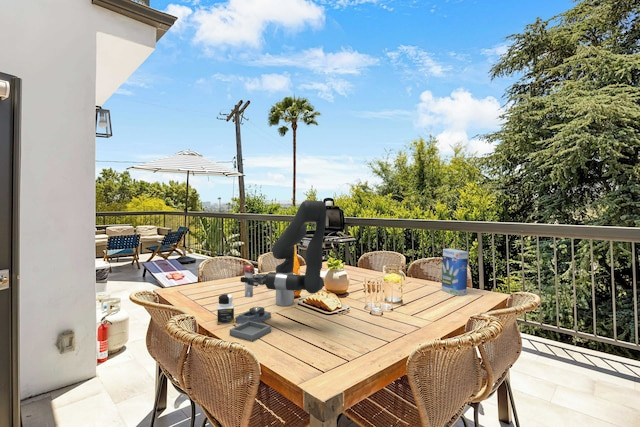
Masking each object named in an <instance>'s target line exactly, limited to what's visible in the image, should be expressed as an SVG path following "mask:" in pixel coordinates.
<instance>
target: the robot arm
mask: <svg viewBox="0 0 640 427" xmlns="http://www.w3.org/2000/svg"><path fill="white" fill-rule="evenodd" d="M326 221H327V206H326V203H325V202H324V201H322V200H303V201H302V202H301V204H299V206H298V209H297V211H296V213H295V215H294V217H293V219H292V220H291V222H290V223H289V225H288V226H287V227H286V229H285V231H284V232H283V234H282V235H281V236H280V237H279V238H278V239H277V240H276V241H275V242H274V244H273V246H272V250H271V251H272V257H274V258H275V259H276V260H284V261H283V262H282V263H280V264H278V265H276V267H275V272H273V271H269V272H268V273H263V274H262V273H258V274H257V273H256V274H253V278H250V277H249V278H248V277H245V276H241V277H240V283H244V284H245V283H248V285H252V286H253V287H255V288H256V287H259V286H264V285H265V287H266V289H268V290H273V291H274V290H275V304H276V305H277V306H280V307H286V306H287V307H288V306H292V305H293V304H294V303H295V292H297V291H306V292H308V294H317V293H318V292H320V291H322V289H323V288H324V286H325V281H324V279H323V278H322V276H321V270H322V269H323V244H324V237H325V228H326V223H327V222H326ZM310 222H312V223H313V222H314V223H316V225H315V231H314V234H313V235H312V237H311V239H310V240H309V243H308V244H307V247H306V251H305V265H306V266H305V274H302V275H301V274H294V267H295V266H294V265H295V246H296V245H298V244H299V243H301V242H302V240H304V239H305V236H306V235H307V229H308V228H307V226H306V223H310Z"/></svg>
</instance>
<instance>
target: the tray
mask: <svg viewBox="0 0 640 427" xmlns="http://www.w3.org/2000/svg"><path fill="white" fill-rule="evenodd" d="M271 332H272V326H271V325H269V324H265V323H262V322H261V323H257V322H253V321H247V322H245V323H243V324H239V325H237V326H234V327H232V328H230V329H229V336H230V337H233V338H237V339H241V340H244V341H249V342H251V343H252V342H254V341H257V340H258V339H260V338H262V337H264V336H266V335H267V334H269V333H271Z"/></svg>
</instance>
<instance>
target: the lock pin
mask: <svg viewBox="0 0 640 427" xmlns="http://www.w3.org/2000/svg"><path fill="white" fill-rule="evenodd" d="M254 270H255V265H254V264H244V265H243V271H244V277H248V278H249V277H250V278H253V275H254ZM253 296H254V286H252V285H248V283H245V282H244V297H245V298H253Z"/></svg>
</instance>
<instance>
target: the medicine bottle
mask: <svg viewBox="0 0 640 427" xmlns="http://www.w3.org/2000/svg"><path fill="white" fill-rule="evenodd" d="M234 307H235V306H234V303H233V295H232V294H229V293H223V294H220V295H219V296H218V304H217V309H216V310H217V314H216V316H217V325H223V324H234V322H235V308H234Z"/></svg>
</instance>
